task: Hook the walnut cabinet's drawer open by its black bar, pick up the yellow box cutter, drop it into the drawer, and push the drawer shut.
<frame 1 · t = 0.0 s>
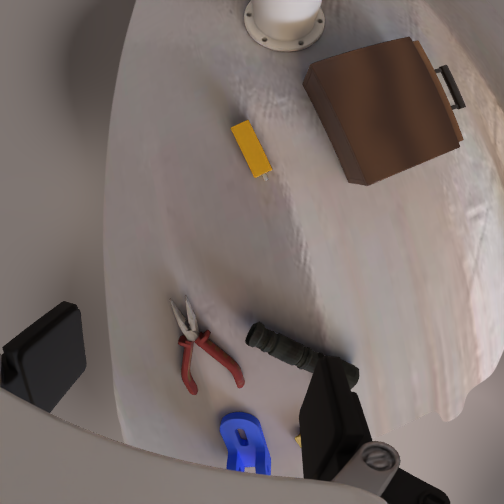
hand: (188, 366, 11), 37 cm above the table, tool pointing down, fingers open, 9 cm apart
cabinet: (370, 115, 41), on the table
box cutter: (252, 149, 44), on the table
drawer: (407, 101, 36), point 5 cm above the table, slide at 0.5 cm
bracket: (245, 438, 59), on the table
pliers: (210, 347, 53), on the table
flashlight: (303, 349, 52), on the table
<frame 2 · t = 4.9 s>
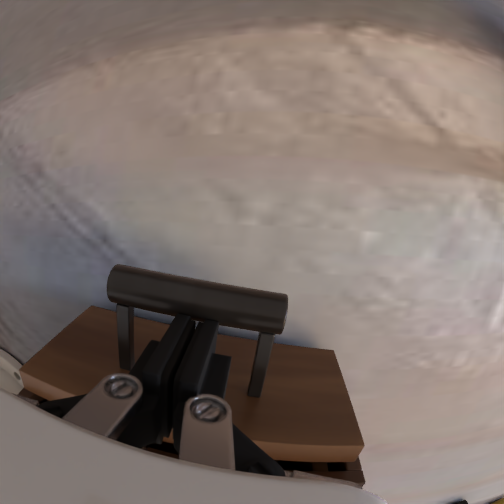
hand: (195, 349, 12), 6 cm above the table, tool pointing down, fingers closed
cabinet: (198, 426, 21), on the table
drawer: (188, 431, 15), point 5 cm above the table, slide at 0.5 cm, touching gripper
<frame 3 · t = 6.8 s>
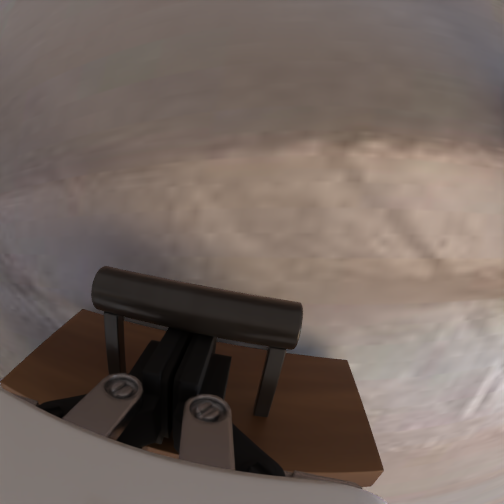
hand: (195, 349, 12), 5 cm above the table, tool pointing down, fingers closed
drawer: (187, 448, 13), point 5 cm above the table, slide at 8.7 cm, touching gripper
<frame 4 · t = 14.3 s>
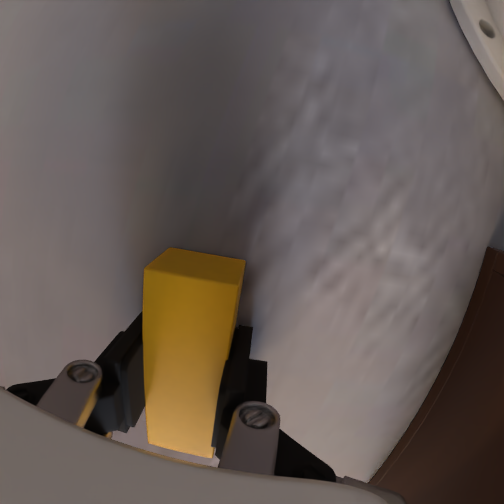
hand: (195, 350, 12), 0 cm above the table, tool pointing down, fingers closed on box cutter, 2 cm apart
box cutter: (196, 347, 12), on the table, touching gripper
when the fingers open (7 cm above the table, at t = 21.5 s): box cutter drops 5 cm, resting on drawer.
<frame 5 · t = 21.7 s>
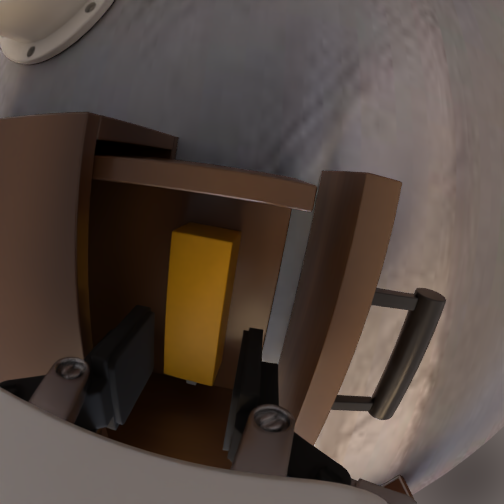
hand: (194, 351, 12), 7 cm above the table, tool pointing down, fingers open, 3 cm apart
cabinet: (63, 251, 19), on the table
box cutter: (205, 297, 17), point 2 cm above the table, touching drawer
drawer: (223, 325, 14), point 5 cm above the table, slide at 8.1 cm, touching box cutter
food container: (378, 497, 25), on the table
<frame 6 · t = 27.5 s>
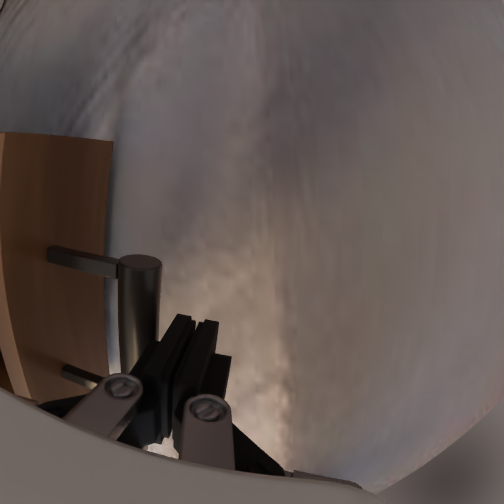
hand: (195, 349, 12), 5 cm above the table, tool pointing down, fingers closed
drawer: (4, 286, 12), point 5 cm above the table, slide at 8.3 cm, touching box cutter, gripper
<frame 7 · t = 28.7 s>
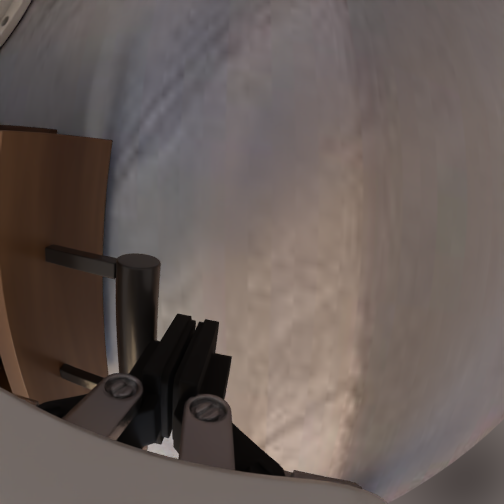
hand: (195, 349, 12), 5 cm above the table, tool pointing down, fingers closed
drawer: (2, 285, 12), point 5 cm above the table, slide at 3.5 cm, touching box cutter, gripper
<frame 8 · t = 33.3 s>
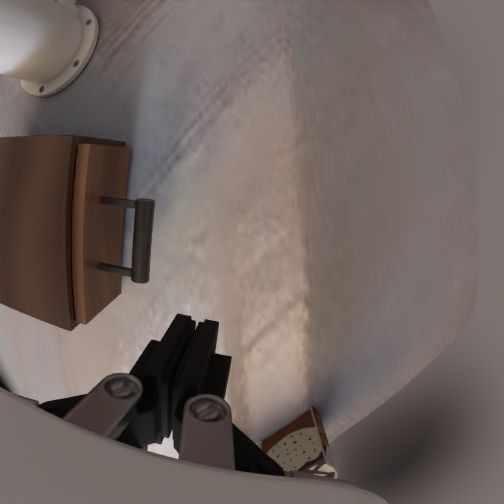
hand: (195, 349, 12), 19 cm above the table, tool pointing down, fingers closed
cabinet: (62, 211, 30), on the table
drawer: (66, 224, 26), point 5 cm above the table, slide at 0.0 cm, touching box cutter
food container: (300, 432, 37), on the table
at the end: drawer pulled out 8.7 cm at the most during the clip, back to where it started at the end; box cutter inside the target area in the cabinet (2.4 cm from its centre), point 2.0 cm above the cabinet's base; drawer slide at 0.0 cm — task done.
